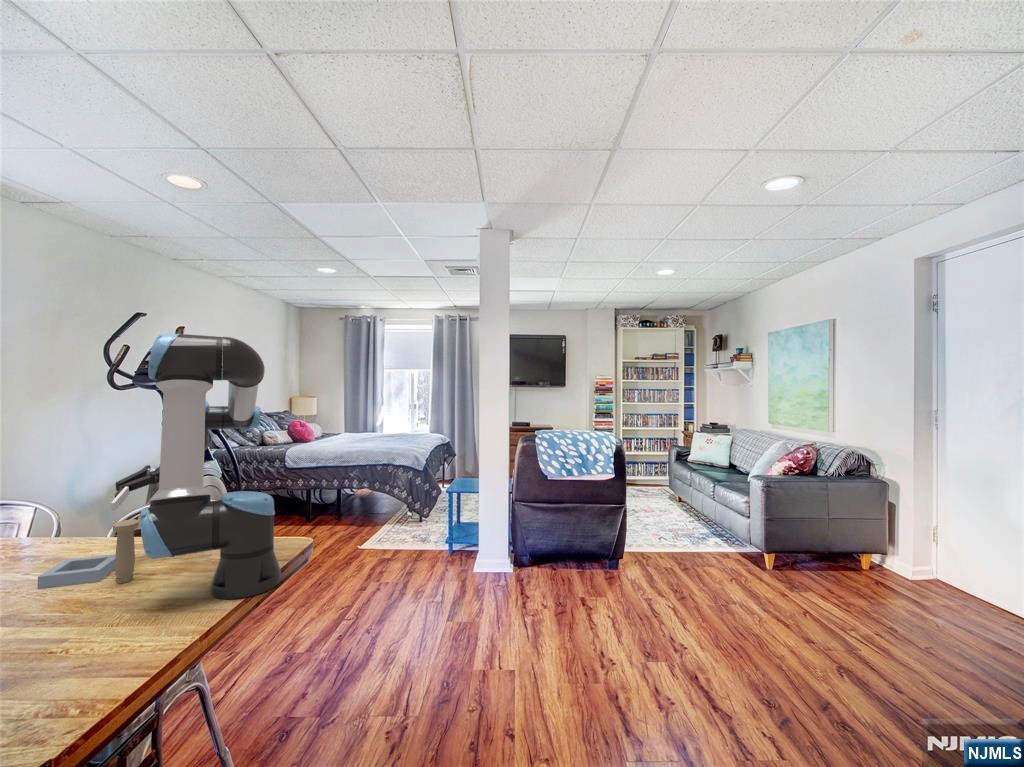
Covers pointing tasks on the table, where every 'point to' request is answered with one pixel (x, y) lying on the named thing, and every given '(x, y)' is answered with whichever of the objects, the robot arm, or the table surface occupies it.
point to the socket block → (77, 571)
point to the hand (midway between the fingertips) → (143, 509)
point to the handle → (125, 550)
